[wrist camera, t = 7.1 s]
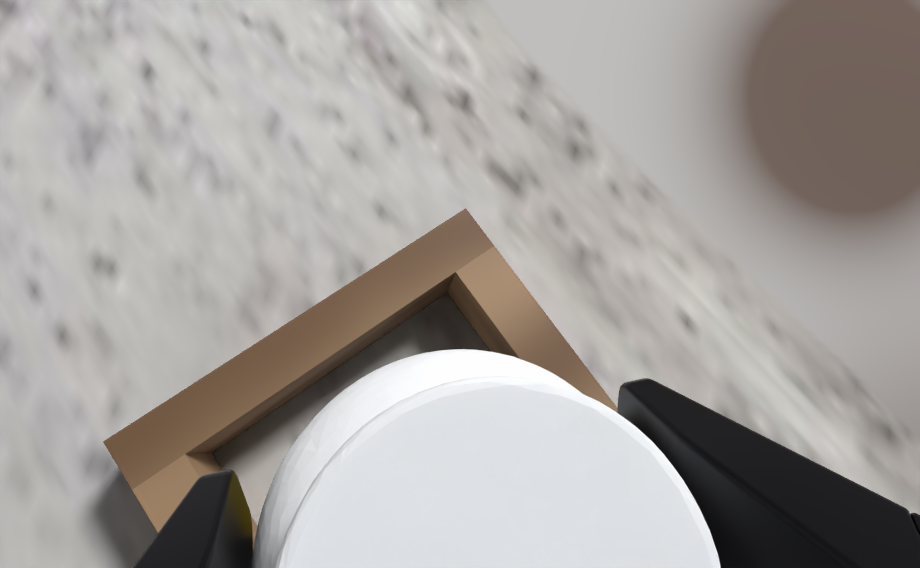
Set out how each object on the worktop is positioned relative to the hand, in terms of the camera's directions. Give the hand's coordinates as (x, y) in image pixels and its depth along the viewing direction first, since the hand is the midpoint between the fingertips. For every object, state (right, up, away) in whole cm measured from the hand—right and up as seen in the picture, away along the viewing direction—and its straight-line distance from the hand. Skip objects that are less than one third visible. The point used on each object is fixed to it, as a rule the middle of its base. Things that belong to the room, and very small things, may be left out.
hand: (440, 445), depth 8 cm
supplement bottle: (-1, -3, +6) cm, 7 cm away
